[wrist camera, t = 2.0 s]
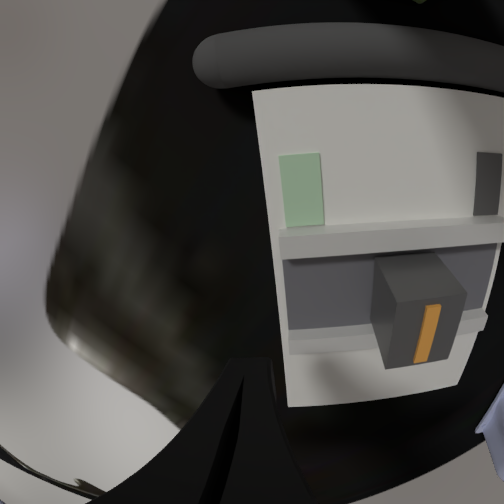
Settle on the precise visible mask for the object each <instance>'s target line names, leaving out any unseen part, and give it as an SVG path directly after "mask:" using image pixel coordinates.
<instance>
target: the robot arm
mask: <svg viewBox="0 0 504 504" xmlns="http://www.w3.org/2000/svg"><path fill="white" fill-rule="evenodd" d="M475 432H476V433H480V432H483V434H484V437H485V440H486V443H487V445H488V448H489V451H490V454H491V457H492V460H493V464H494V467H495V470H496V472H497V475H498V476H499V477H500V479H501V480H503V481H504V384H503V385H502V387H501V389H500V391H499V393H498V394H497V396H496V398H495V399H494V401H493V403H492V404H491V406H490V408H489V409H488V411H487V412H486V414H485V415H484V417H483V419H482V420H481V422H480V423H479V425H478V426H477V428H476V429H475ZM0 504H5V503H4V502H3V501H1V500H0ZM86 504H319V503H318V501H317V500H316V498H315V496H314V494H313V492H312V490H311V489H310V487H309V485H308V483H307V481H306V479H305V477H304V475H303V473H302V471H301V469H300V467H299V465H298V463H297V461H296V458H295V456H294V454H293V451H292V449H291V447H290V444H289V441H288V439H287V436H286V433H285V430H284V428H283V425H282V422H281V418H280V415H279V412H278V408H277V404H276V388H275V381H274V373H273V366H272V360H271V359H270V358H268V357H257V358H230V359H229V360H228V362H227V364H226V366H225V368H224V369H223V371H222V373H221V374H220V376H219V378H218V379H217V381H216V383H215V384H214V386H213V387H212V389H211V391H210V392H209V393H208V395H207V396H206V398H205V399H204V401H203V402H202V404H201V405H200V406H199V408H198V409H197V411H196V412H195V413H194V414H193V416H192V417H191V418H190V419H189V421H188V422H187V423H186V424H185V426H184V427H183V428H182V429H181V430H180V432H179V433H178V434H177V435H176V436H175V437H174V438H173V439H172V441H170V442H169V443H168V444H167V446H166V447H165V448H164V449H163V450H162V451H161V452H159V453H158V454H157V455H156V456H155V457H154V458H153V459H152V460H151V461H149V462H148V463H147V464H146V465H145V466H144V467H142V468H141V469H140V470H138V471H137V472H136V473H134V474H133V475H132V476H130V477H129V478H127V479H126V480H125V481H123V482H122V483H120V484H119V485H118V486H116V487H114V488H113V489H111V490H110V491H108V492H106V493H104V494H102V495H101V496H99V497H97V498H95V499H93V500H91V501H90V502H88V503H86Z"/></svg>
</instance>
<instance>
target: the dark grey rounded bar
mask: <svg viewBox="0 0 504 504" xmlns="http://www.w3.org/2000/svg"><path fill="white" fill-rule="evenodd" d="M193 69H194V71H195V74H196V75H197V77H198V78H199V79H200V80H201V81H202V82H203V83H204V84H206V85H208V86H210V87H213V88H219V89H224V88H233V87H239V86H246V85H254V84H262V83H270V82H280V81H291V80H304V79H321V78H395V79H412V80H424V81H435V82H444V83H452V84H459V85H466V86H472V87H478V88H484V89H489V90H494V91H499V92H504V46H501V45H498V44H494V43H491V42H487V41H483V40H480V39H476V38H471V37H467V36H463V35H458V34H453V33H448V32H442V31H437V30H430V29H424V28H417V27H409V26H399V25H388V24H374V23H304V24H289V25H278V26H268V27H260V28H252V29H245V30H239V31H232V32H227V33H221V34H217V35H213V36H210V37H208V38H206V39H205V40H204V41H202V42H201V43H200V44H199V46H198V47H197V48H196V50H195V52H194V56H193Z"/></svg>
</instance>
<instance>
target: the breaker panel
mask: <svg viewBox="0 0 504 504" xmlns="http://www.w3.org/2000/svg"><path fill="white" fill-rule="evenodd" d="M252 96H253V103H254V111H255V118H256V125H257V133H258V140H259V148H260V155H261V163H262V171H263V179H264V187H265V195H266V203H267V211H268V220H269V228H270V236H271V245H272V254H273V263H274V271H275V280H276V290H277V299H278V308H279V318H280V327H281V337H282V347H283V357H284V368H285V378H286V389H287V400H288V407H299V406H317V405H331V404H343V403H353V402H362V401H370V400H378V399H385V398H391V397H398V396H404V395H410V394H415V393H420V392H426V391H431V390H435V389H440V388H444V387H449V386H453V385H457V383H458V381H459V379H460V377H461V374H462V372H463V370H464V367H465V365H466V363H467V360H468V358H469V355H470V352H471V350H472V347H473V345H474V342H475V339H476V336H477V333H478V331H482V330H484V327H485V324H486V321H487V318H488V315H487V314H486V313H485V309H486V306H487V302H488V299H489V295H490V291H491V288H492V284H493V280H494V276H495V272H496V267H497V263H498V258H499V253H500V248H501V243H502V242H504V98H502V97H497V96H492V95H486V94H481V93H474V92H468V91H461V90H453V89H444V88H435V87H423V86H410V85H389V84H333V85H312V86H297V87H285V88H275V89H266V90H258V91H252ZM428 252H435V253H436V255H437V256H438V257H439V258H440V259H441V261H442V262H443V263H444V264H445V265H446V267H447V268H448V269H449V270H450V271H451V273H452V274H453V275H454V276H455V278H456V279H457V280H458V281H459V283H460V284H461V285H462V287H463V288H464V289H465V290H466V292H467V293H468V294H467V298H466V302H465V306H464V309H463V313H462V317H461V320H460V324H459V327H458V330H457V333H456V337H455V340H454V343H453V346H452V349H451V352H450V355H449V357H448V359H446V360H440V361H435V362H430V363H424V364H419V365H413V366H406V367H400V368H393V369H386V370H385V368H384V364H383V360H382V357H381V353H380V350H379V347H378V343H377V340H376V336H375V333H374V330H373V327H372V323H371V320H370V313H371V303H372V291H373V277H374V259H375V257H380V256H392V255H404V254H417V253H428Z"/></svg>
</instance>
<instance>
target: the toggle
mask: <svg viewBox="0 0 504 504" xmlns="http://www.w3.org/2000/svg"><path fill="white" fill-rule="evenodd" d="M467 294H468V293H467V292H466V290H465V289H464V288H463V287H462V285H461V284H460V283H459V281H458V280H457V279H456V278H455V276H454V275H453V274H452V273H451V271H450V270H449V269H448V268H447V267H446V265H445V264H444V263H443V262H442V261H441V259H440V258H439V257H438V256H437V255H436V253H435V252H428V253H417V254H404V255H392V256H380V257H375V259H374V277H373V291H372V303H371V313H370V320H371V323H372V327H373V330H374V333H375V336H376V340H377V343H378V347H379V350H380V353H381V357H382V360H383V364H384V368H385V370H386V369H393V368H400V367H406V366H413V365H419V364H424V363H430V362H435V361H440V360H446V359H448V357H449V355H450V352H451V349H452V346H453V343H454V340H455V337H456V333H457V330H458V327H459V324H460V320H461V317H462V313H463V309H464V306H465V302H466V298H467Z"/></svg>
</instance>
